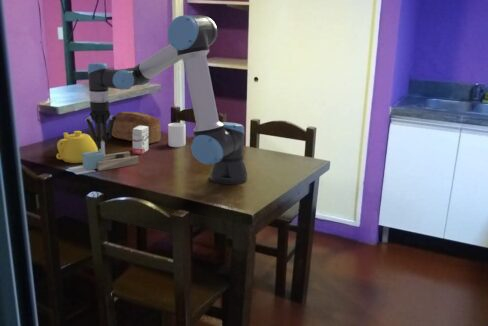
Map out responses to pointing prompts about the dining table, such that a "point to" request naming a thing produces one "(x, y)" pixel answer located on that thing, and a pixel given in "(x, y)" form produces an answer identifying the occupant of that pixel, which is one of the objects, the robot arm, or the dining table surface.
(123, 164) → the chute
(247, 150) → the dining table surface
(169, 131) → the mug
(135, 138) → the ink box
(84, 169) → the pad
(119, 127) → the bread
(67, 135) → the teapot
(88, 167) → the block
